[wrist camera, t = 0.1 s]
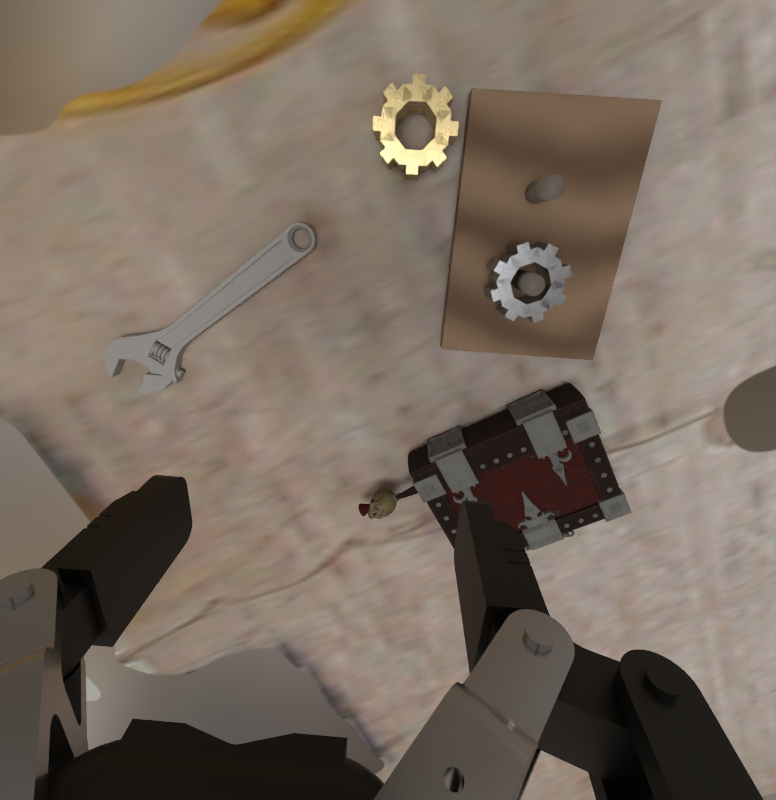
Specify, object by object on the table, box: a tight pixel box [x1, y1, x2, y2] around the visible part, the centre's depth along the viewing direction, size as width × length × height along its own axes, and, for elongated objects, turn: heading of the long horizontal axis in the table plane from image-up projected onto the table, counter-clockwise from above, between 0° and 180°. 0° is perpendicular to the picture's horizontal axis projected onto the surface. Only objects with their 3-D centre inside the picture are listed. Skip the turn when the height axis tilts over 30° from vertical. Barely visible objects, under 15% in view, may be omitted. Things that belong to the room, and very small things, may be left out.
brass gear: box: [373, 73, 459, 180], centre depth 31 cm, size 6×6×4 cm
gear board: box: [440, 88, 662, 360], centre depth 33 cm, size 20×14×6 cm
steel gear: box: [483, 241, 572, 323], centre depth 34 cm, size 6×6×4 cm
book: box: [359, 383, 631, 551], centre depth 43 cm, size 15×25×5 cm, turn 118°
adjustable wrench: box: [104, 223, 317, 395], centre depth 39 cm, size 25×6×2 cm, turn 120°
